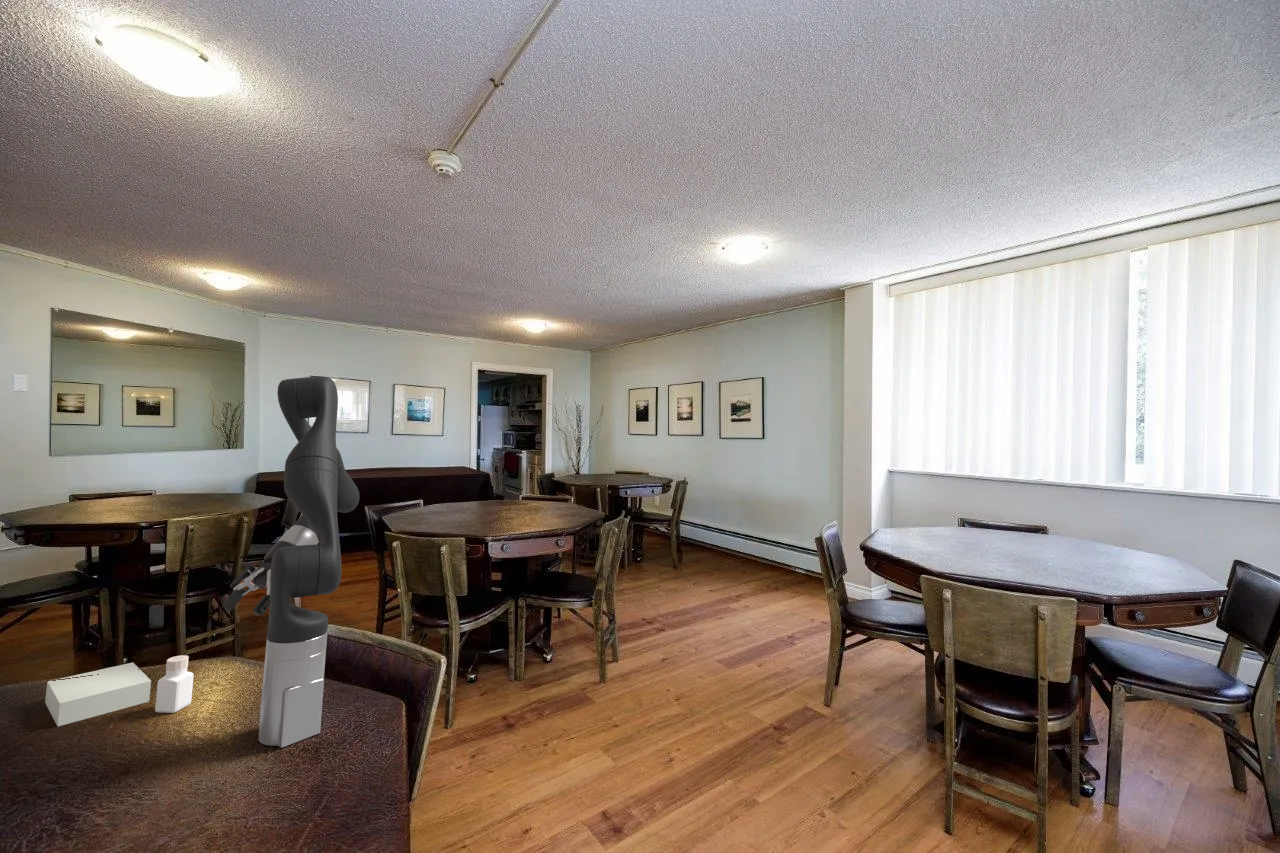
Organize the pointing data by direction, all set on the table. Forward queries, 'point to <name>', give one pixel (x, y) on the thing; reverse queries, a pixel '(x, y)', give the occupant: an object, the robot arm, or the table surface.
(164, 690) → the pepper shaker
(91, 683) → the platform
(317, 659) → the robot arm
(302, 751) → the table surface
